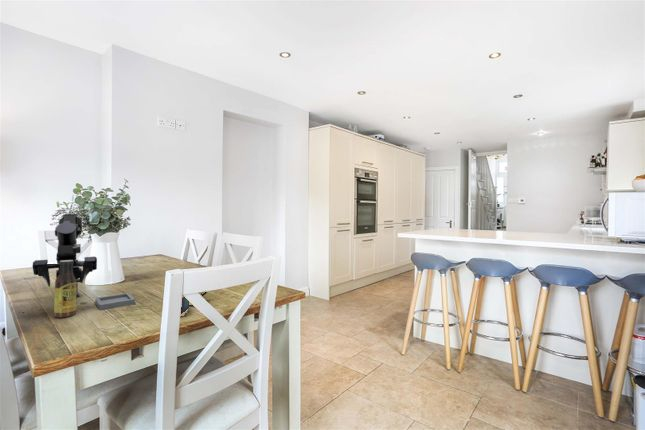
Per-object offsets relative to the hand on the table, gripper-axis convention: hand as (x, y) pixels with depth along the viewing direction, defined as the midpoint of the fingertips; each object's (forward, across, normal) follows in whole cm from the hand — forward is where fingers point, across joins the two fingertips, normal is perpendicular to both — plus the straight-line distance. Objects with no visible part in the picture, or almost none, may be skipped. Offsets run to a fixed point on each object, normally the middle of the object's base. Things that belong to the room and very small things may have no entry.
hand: (65, 284), depth 115 cm
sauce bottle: (+9, 0, +7) cm, 11 cm away
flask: (+24, +35, -7) cm, 43 cm away
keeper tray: (+4, +15, +12) cm, 20 cm away
